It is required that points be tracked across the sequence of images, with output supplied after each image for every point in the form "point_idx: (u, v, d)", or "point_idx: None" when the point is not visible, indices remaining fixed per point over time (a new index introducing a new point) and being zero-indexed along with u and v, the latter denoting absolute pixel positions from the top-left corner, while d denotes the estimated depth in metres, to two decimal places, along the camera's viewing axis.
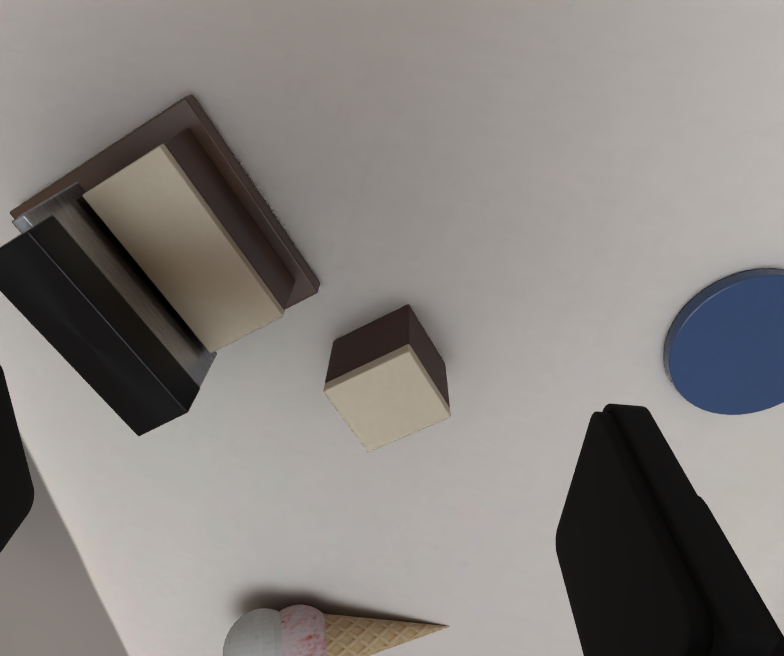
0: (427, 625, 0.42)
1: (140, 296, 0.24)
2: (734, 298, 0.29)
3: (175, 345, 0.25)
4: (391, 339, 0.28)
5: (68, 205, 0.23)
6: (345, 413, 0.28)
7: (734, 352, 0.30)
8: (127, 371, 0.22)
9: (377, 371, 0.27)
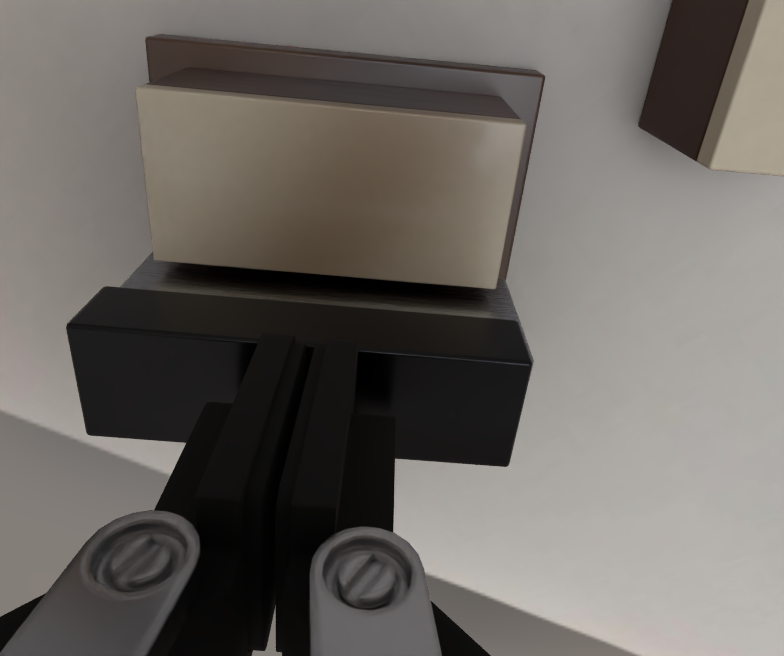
0: None
1: (333, 295, 0.14)
2: None
3: (435, 309, 0.14)
4: None
5: (154, 276, 0.14)
6: (783, 164, 0.13)
7: None
8: (387, 388, 0.11)
9: (768, 31, 0.12)
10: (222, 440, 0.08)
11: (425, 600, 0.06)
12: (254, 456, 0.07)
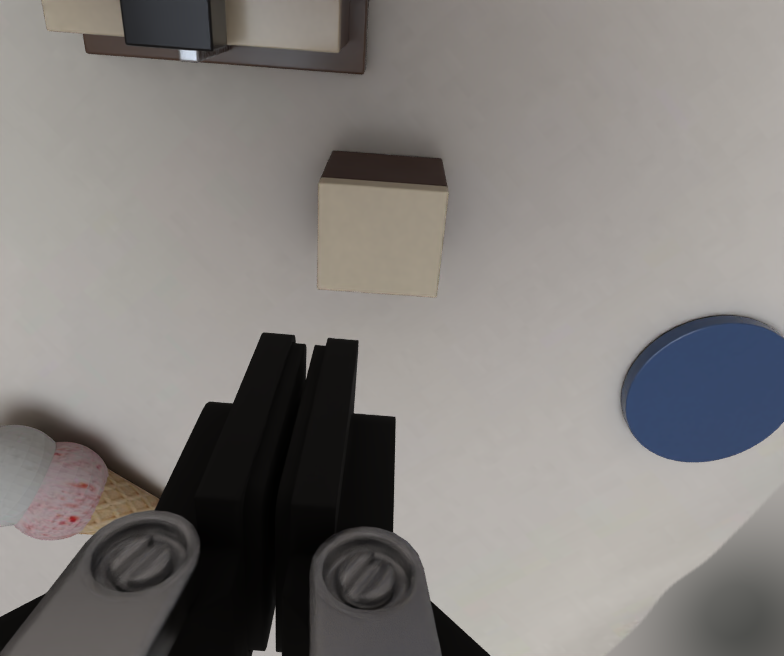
0: None
1: None
2: (734, 338, 0.27)
3: None
4: (420, 175, 0.22)
5: None
6: (324, 226, 0.21)
7: (697, 391, 0.29)
8: None
9: (397, 195, 0.21)
10: (222, 440, 0.08)
11: (425, 600, 0.06)
12: (254, 456, 0.07)
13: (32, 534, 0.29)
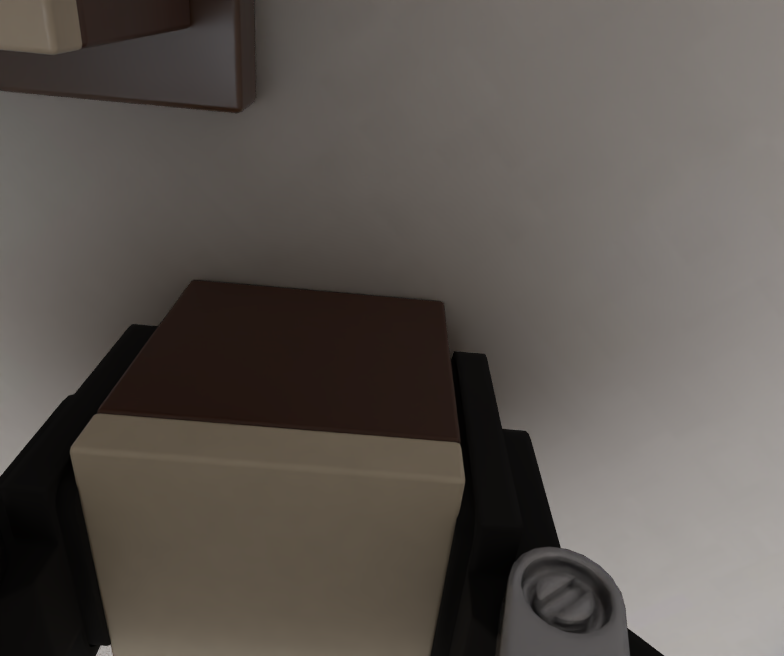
0: None
1: None
2: None
3: None
4: (388, 384, 0.08)
5: None
6: (108, 549, 0.07)
7: None
8: None
9: (311, 485, 0.07)
10: (49, 431, 0.08)
11: (623, 641, 0.06)
12: None
13: None
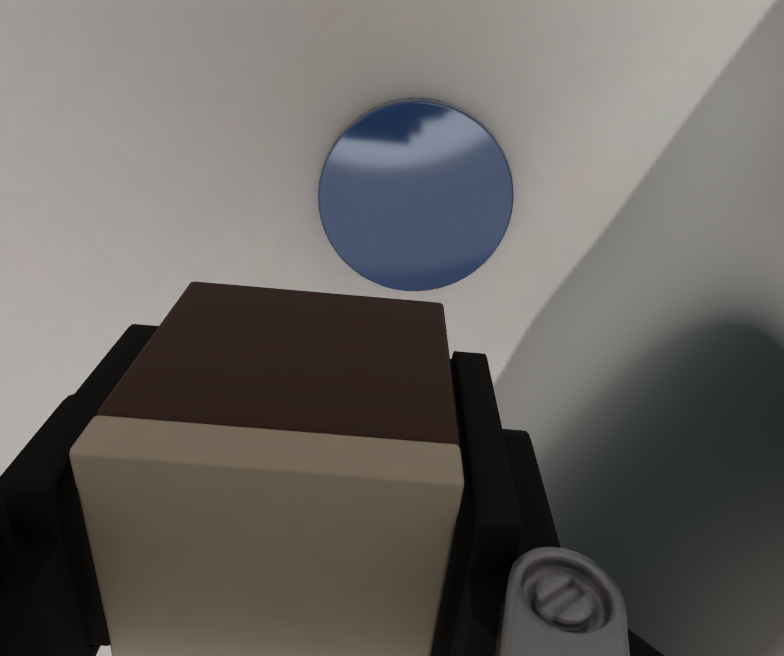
0: None
1: None
2: (422, 121, 0.24)
3: None
4: (388, 386, 0.08)
5: None
6: (106, 551, 0.07)
7: (395, 195, 0.25)
8: None
9: (311, 487, 0.07)
10: (49, 431, 0.08)
11: (623, 641, 0.06)
12: None
13: None
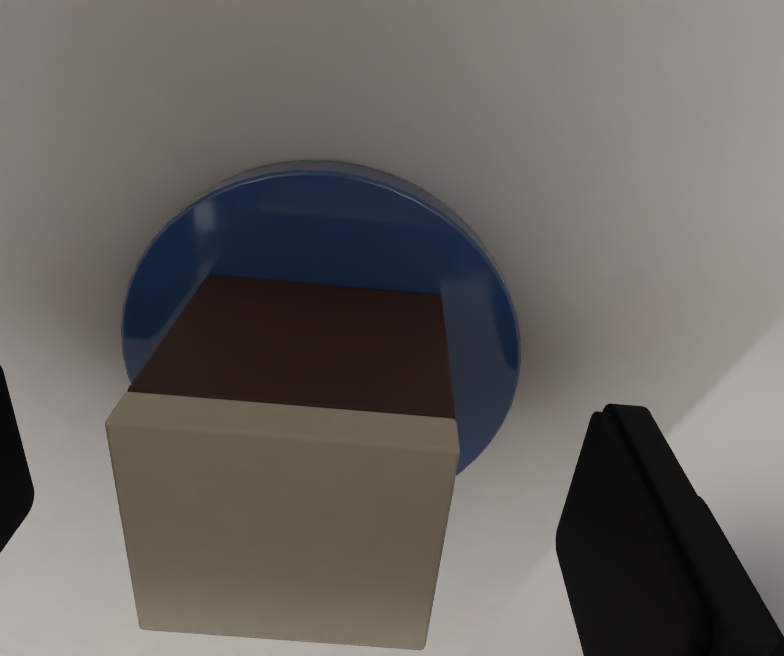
0: None
1: None
2: (322, 214, 0.11)
3: None
4: (390, 368, 0.09)
5: None
6: (136, 515, 0.08)
7: None
8: None
9: (321, 454, 0.08)
10: None
11: None
12: None
13: None
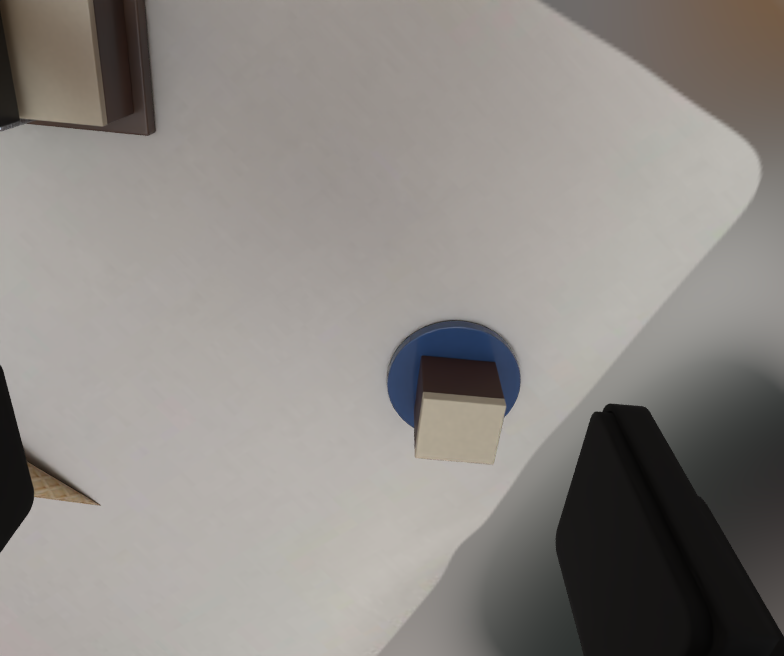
0: (80, 494, 0.42)
1: None
2: (460, 338, 0.36)
3: None
4: (485, 386, 0.34)
5: None
6: (424, 422, 0.33)
7: None
8: None
9: (473, 407, 0.32)
10: None
11: None
12: None
13: None
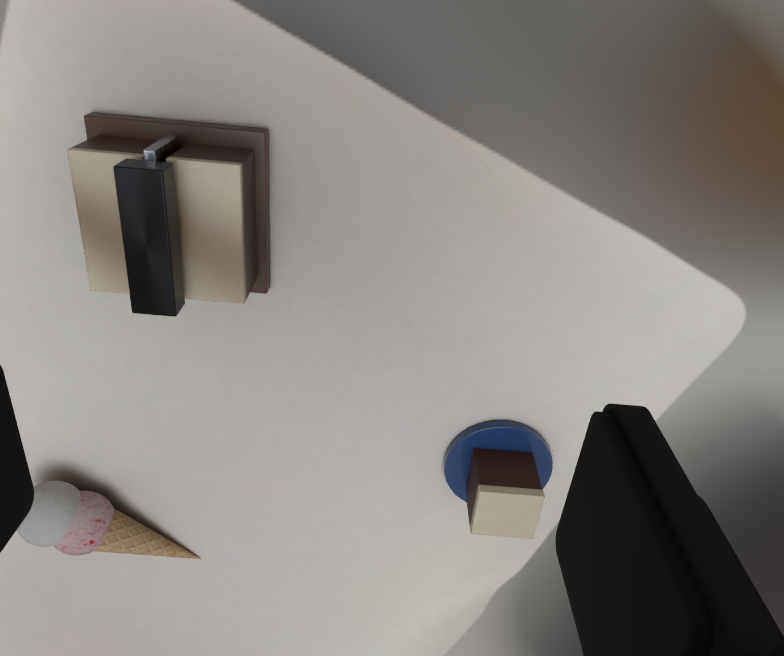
0: (186, 551, 0.52)
1: None
2: (505, 435, 0.44)
3: None
4: (526, 477, 0.43)
5: (171, 150, 0.33)
6: (479, 508, 0.42)
7: None
8: (157, 274, 0.32)
9: (518, 497, 0.41)
10: None
11: None
12: None
13: (65, 551, 0.46)
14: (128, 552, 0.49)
